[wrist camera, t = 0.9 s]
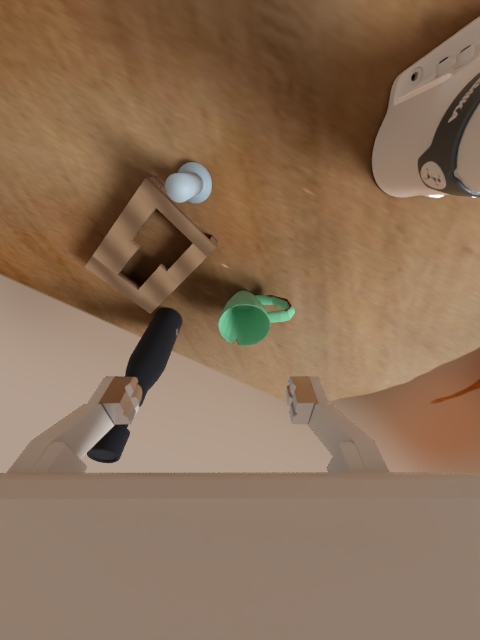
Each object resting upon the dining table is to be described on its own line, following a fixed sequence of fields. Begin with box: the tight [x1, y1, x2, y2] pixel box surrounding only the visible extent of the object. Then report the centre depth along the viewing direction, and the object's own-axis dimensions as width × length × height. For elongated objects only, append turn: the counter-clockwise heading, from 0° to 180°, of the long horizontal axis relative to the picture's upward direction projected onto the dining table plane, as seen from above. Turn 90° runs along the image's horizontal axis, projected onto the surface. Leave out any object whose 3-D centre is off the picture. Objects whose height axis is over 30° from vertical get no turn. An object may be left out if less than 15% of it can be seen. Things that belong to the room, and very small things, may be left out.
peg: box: [165, 162, 212, 203], centre depth 31 cm, size 6×6×12 cm
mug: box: [218, 290, 295, 346], centre depth 44 cm, size 15×10×10 cm
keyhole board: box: [85, 177, 218, 314], centre depth 40 cm, size 20×14×4 cm
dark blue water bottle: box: [87, 308, 182, 463], centre depth 39 cm, size 6×6×30 cm
